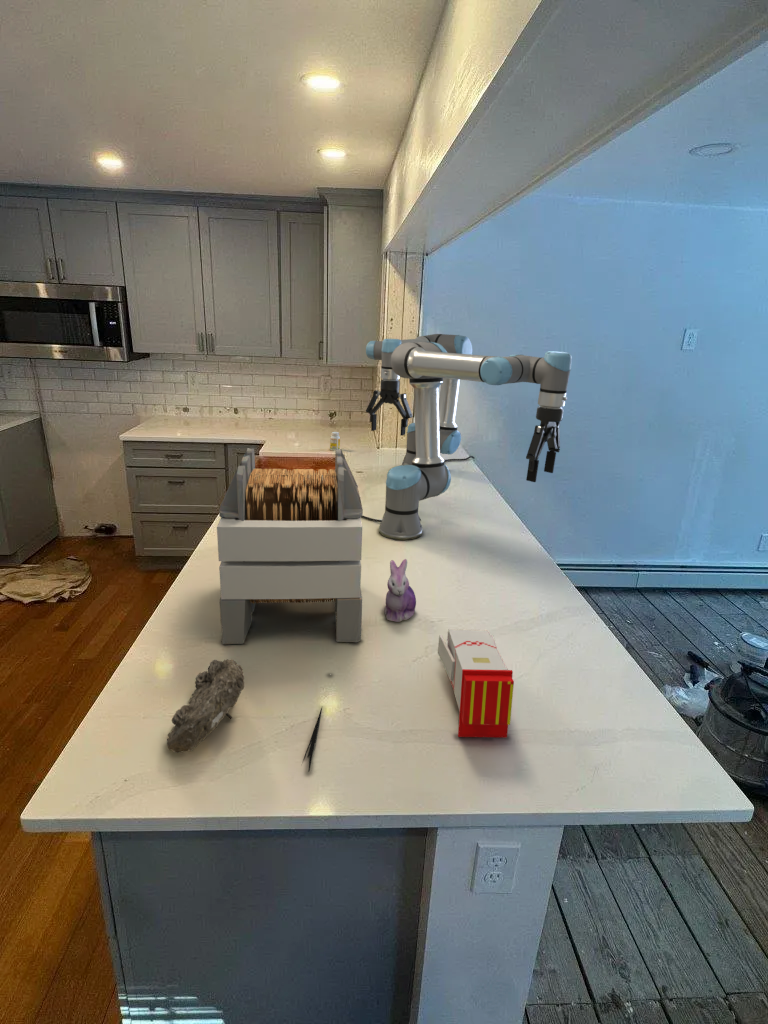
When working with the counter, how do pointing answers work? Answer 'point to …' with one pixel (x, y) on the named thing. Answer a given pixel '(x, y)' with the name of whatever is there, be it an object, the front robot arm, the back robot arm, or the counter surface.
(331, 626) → the counter surface
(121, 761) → the counter surface
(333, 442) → the supplement bottle
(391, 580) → the figurine
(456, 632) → the toy
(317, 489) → the transformer
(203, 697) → the fossil
